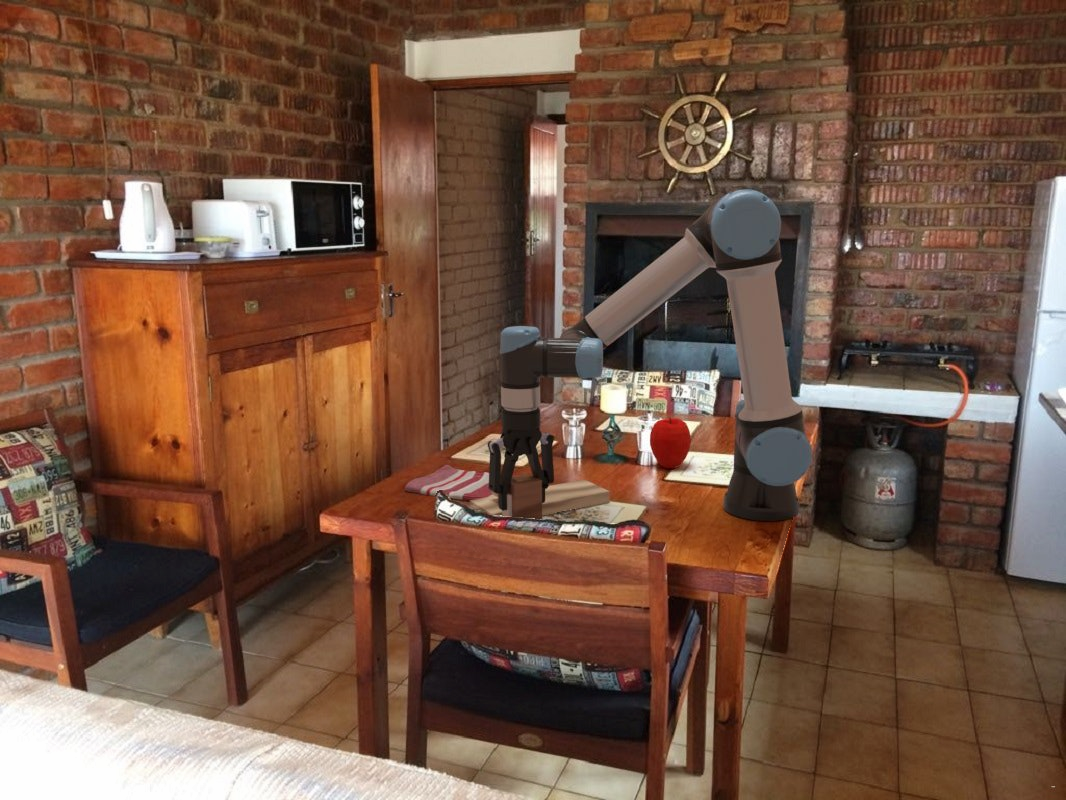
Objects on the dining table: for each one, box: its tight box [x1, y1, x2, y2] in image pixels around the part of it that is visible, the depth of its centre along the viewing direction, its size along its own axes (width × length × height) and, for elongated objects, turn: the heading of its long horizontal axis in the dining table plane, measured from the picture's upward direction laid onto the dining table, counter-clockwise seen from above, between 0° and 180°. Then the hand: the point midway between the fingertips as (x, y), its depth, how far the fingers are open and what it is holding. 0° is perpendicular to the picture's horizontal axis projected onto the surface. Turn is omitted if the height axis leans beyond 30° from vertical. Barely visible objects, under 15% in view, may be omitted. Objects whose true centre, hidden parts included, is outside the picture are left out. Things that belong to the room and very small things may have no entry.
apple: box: [649, 417, 692, 469], centre depth 217 cm, size 10×10×12 cm
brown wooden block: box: [491, 473, 543, 520], centre depth 181 cm, size 14×6×9 cm, turn 30°
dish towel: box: [404, 464, 519, 503], centre depth 202 cm, size 17×23×3 cm
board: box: [469, 479, 611, 517], centre depth 189 cm, size 10×28×2 cm, turn 120°
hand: (522, 521), depth 178 cm, fingers closed on brown wooden block, 6 cm apart
